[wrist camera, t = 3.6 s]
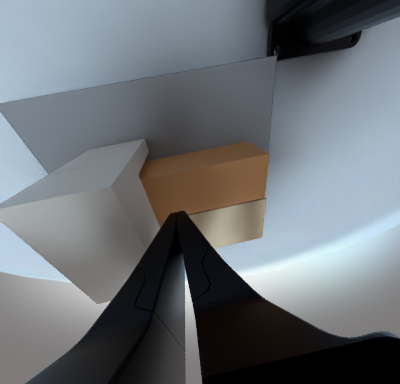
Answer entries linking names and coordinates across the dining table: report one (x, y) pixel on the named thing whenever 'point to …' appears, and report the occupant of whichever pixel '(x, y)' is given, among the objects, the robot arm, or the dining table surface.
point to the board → (151, 113)
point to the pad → (231, 222)
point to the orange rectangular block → (205, 179)
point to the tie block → (89, 218)
